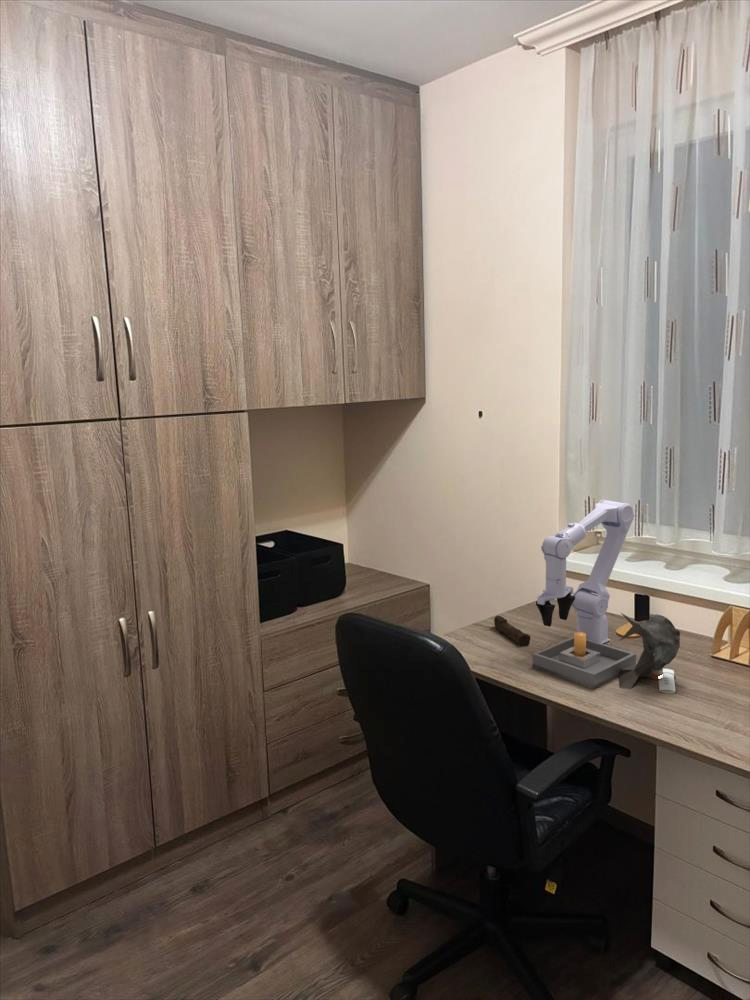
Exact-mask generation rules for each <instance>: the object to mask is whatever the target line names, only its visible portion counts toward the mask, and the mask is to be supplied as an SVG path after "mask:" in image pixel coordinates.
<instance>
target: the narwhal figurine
mask: <svg viewBox="0 0 750 1000" xmlns="http://www.w3.org/2000/svg"><path fill="white" fill-rule="evenodd" d="M619 612H620V611H619ZM620 614H621V615H622V616H623V618H625V619H626V621H628V623H630V625H631V627H630V628H629V630H628V631H626V633H625V634H624V635H623V636H622V637H621V638H620V639H619V641H622V640H625V639H626V638H628V637H630V636H632V635H638V636H641V639H642V644H643V645H642V646H643V651H642V653H641V654H640V657H639V659H638V661H637V662H636V665H634V666H630V667H626V668H622V669H620V675H619V676H618V677H617V678H618V687H619V688H620V689H628V690H629V689H630V690H631V689H632V687H633V686H634V684H635V683H636V682H637V680H638V678H649V679H652V680H656V681H658V680H657V679H658V676H660V675H662V674H663V675H664V668H665V667H666V666H667V665H669V664H670V663H672V661H673V660H674V659H675V658H676V656H677V654H678V653H679V649H680V647H681V631H680V630H679V629H677V628H676V627H675V625H674V624H673V622H672V621H671V620H670V619H669V618H667V617H666V616H663V615H662V614H658V613H657V614H656V613H655V614H654V615H652V616H651V617H650V618H649V619H648V620H641V621H637V620H635V619H632V618H631V617H630V616H627V615H626V614H624V613H622V612H620Z"/></svg>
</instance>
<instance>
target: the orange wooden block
mask: <svg viewBox="0 0 750 1000" xmlns="http://www.w3.org/2000/svg"><path fill="white" fill-rule="evenodd" d="M573 636H574V655H578V656H581V657H583V656H585V655H586V634H585V633H583V632H577V631H576V632H574V633H573Z"/></svg>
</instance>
